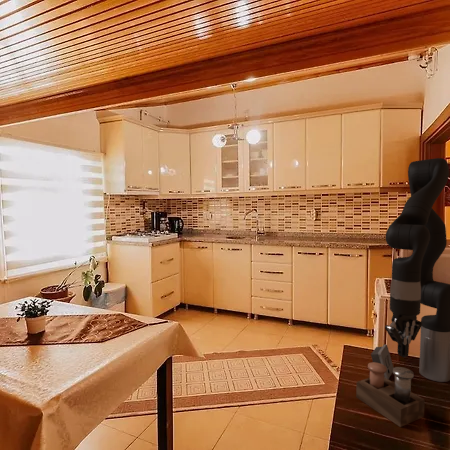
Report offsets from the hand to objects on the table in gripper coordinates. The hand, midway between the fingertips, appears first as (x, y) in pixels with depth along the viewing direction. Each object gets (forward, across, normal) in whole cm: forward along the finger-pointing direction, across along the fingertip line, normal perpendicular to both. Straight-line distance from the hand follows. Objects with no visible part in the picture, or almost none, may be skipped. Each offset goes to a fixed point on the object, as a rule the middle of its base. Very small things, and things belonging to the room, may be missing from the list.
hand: (402, 355), depth 91 cm
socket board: (+17, 0, -4) cm, 18 cm away
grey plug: (+12, 0, 0) cm, 12 cm away
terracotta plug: (+15, 0, -8) cm, 17 cm away
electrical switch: (+18, -15, -18) cm, 29 cm away
